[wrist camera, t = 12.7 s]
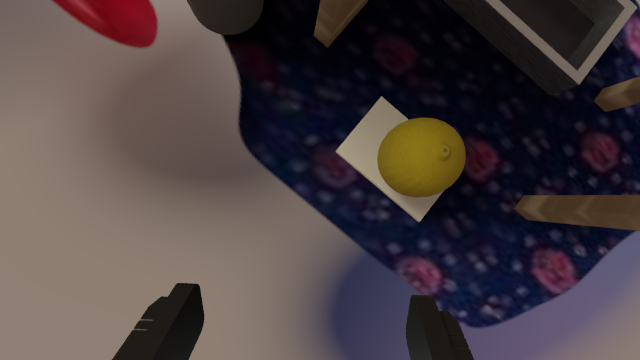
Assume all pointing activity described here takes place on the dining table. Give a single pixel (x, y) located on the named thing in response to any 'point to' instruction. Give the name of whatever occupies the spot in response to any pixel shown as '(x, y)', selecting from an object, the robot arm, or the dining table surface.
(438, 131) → the lemon
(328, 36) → the small wooden table
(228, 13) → the bottle
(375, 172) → the pad
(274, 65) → the dining table surface
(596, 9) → the open rectangular box
